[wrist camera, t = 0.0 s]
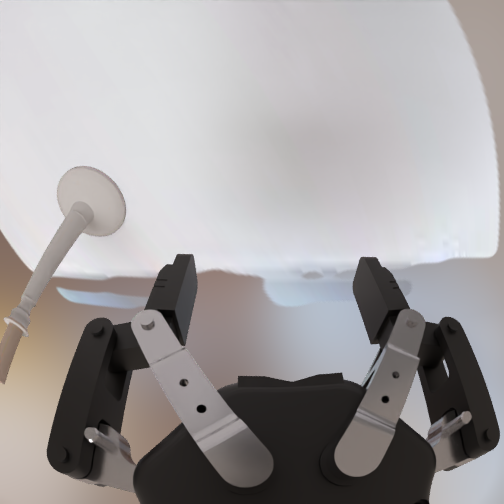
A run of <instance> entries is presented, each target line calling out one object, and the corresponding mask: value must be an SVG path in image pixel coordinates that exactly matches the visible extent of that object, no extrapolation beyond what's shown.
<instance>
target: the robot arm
mask: <svg viewBox="0 0 504 504" xmlns="http://www.w3.org/2000/svg"><path fill="white" fill-rule="evenodd" d="M196 293H197V275H196V268H195V261H194V256H193V254H177V255H176V258H175V260H174V263H173V265H171V264H167V265H165V266H164V267H163V268H162V269H161V270H160V272H159V274H158V276H157V279H156V281H155V284H154V287H153V289H152V292H151V294H150V296H149V299H148V302H147V304H146V307H145V309H144V311H141V312H139V313H138V314H136V315H135V316H134V318H133V319H132V322H129V323H124V324H118V325H113V324H112V323H111V321H110V320H109V319H107V318H97V319H94V320H92V321H90V322H89V323H88V324H87V326H86V327H85V329H84V331H83V334H82V336H81V339H80V341H79V344H78V347H77V349H76V352H75V355H74V357H73V360H72V363H71V365H70V368H69V371H68V374H67V378H66V380H65V383H64V386H63V389H62V393H61V396H60V399H59V403H58V406H57V410H56V414H55V417H54V421H53V425H52V429H51V433H50V438H49V442H48V447H47V458H48V460H49V462H50V464H51V466H52V467H53V468H54V469H55V470H57V471H58V472H60V473H63V474H65V475H68V476H70V477H71V478H73V479H76V480H79V481H82V482H85V483H88V484H94V485H97V486H102V487H104V486H110V487H114V488H117V489H122V490H125V491H129V492H134V493H136V495H137V497H138V499H139V502H140V504H429V495H430V489H431V484H432V480H433V477H434V474H435V473H436V472H438V471H441V470H444V471H450V470H453V469H454V468H457V467H459V466H461V465H464V464H466V463H468V462H470V461H472V460H474V459H476V458H478V457H480V456H482V455H484V454H486V453H487V452H489V451H491V450H492V449H494V448H495V447H496V446H497V444H498V442H499V438H500V431H499V426H498V422H497V419H496V415H495V412H494V408H493V405H492V401H491V398H490V395H489V392H488V389H487V387H486V383H485V381H484V378H483V375H482V372H481V370H480V367H479V365H478V362H477V360H476V357H475V355H474V353H473V350H472V348H471V345H470V343H469V341H468V339H467V337H466V334H465V332H464V330H463V328H462V326H461V324H460V323H459V322H458V321H457V320H455V319H454V318H451V317H444V318H443V319H442V320H441V321H440V323H439V324H435V323H430V322H425V320H424V318H423V316H422V315H421V314H420V313H418V312H417V311H415V310H412V309H410V307H409V306H408V303H407V301H406V299H405V297H404V295H403V293H402V292H401V290H400V289H399V286H398V284H397V283H396V280H395V278H394V277H393V275H392V273H391V272H390V271H389V270H387V269H386V268H385V267H382V266H381V265H380V263H379V261H378V259H377V258H376V257H361V258H360V260H359V264H358V267H357V271H356V274H355V277H354V281H353V293H354V296H355V299H356V301H357V304H358V307H359V310H360V313H361V316H362V319H363V322H364V325H365V328H366V331H367V334H368V337H369V340H370V343H371V344H380V349H379V351H378V353H377V355H376V357H375V359H374V361H373V363H372V365H371V367H370V369H369V371H368V373H367V375H366V377H365V379H364V381H363V382H362V384H361V385H359V384H357V383H354V382H351V381H348V380H343V375H342V373H334V374H333V373H332V374H319V375H315V376H312V377H308V378H305V379H301V380H298V381H294V382H290V381H284V380H279V379H274V378H270V377H265V376H238V383H235V384H231V385H228V386H225V387H223V388H221V389H219V390H217V391H216V389H215V388H214V387H213V385H212V384H211V383H210V381H209V380H208V378H207V377H206V376H205V375H204V373H203V372H202V370H201V369H200V367H199V366H198V364H197V363H196V362H195V360H194V359H193V357H192V356H191V354H190V353H189V352H188V350H187V349H186V348H183V347H182V346H185V344H186V339H187V334H188V329H189V325H190V320H191V316H192V310H193V307H194V302H195V298H196ZM444 359H445V361H446V364H447V367H448V370H449V378H448V376H447V373H446V370H445V367H444V364H443V360H444ZM149 367H151V369H152V371H153V373H154V375H155V377H156V378H157V380H158V382H159V384H160V386H161V388H162V389H163V391H164V393H165V395H166V396H167V398H168V400H169V401H170V403H171V404H172V406H173V408H174V409H175V411H176V413H177V414H178V416H179V418H180V419H181V421H182V423H181V424H180V425H179V426H178V427H176V428H175V430H173V431H172V432H171V433H170V434H169V435H168V436H167V437H166V438H164V439H163V440H162V441H161V442H160V443H159V444H158V445H156V446H155V447H154V448H153V449H152V450H151V451H150V452H148V453H147V454H146V455H145V456H144V457H143V458H142V459H141V460H140V461H139V462H138V464H137V465H136V464H135V463H134V462H133V460H132V458H131V453H130V445H129V443H128V441H127V440H126V439H125V438H124V437H123V436H122V435H121V434H120V433H121V427H122V421H123V415H124V410H125V405H126V400H127V395H128V389H129V385H130V380H131V375H132V371H133V370H137V369H143V368H149ZM416 371H418V374H419V378H420V381H421V385H422V388H423V392H424V396H425V400H426V404H427V408H428V413H429V417H430V422H431V427H430V429H429V431H428V437H427V438H426V440H425V439H424V438H423V437H421V436H420V435H419V434H418V433H417V432H416V431H414V430H413V429H412V428H411V427H410V426H409V425H407V424H406V423H405V422H404V421H403V420H401V419H400V418H399V416H400V414H401V411H402V409H403V407H404V404H405V402H406V399H407V396H408V394H409V391H410V388H411V386H412V382H413V380H414V377H415V374H416Z"/></svg>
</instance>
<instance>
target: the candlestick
mask: <svg viewBox="0 0 504 504" xmlns="http://www.w3.org/2000/svg"><path fill="white" fill-rule="evenodd" d="M57 200H58V204H59V207H60V209H61V211H62V213H63V215H64V216H65V219H64V221H63V223H62V224H61V226H60V227H59V229H58V230H57V232H56V234H55V235H54V237H53V239H52V240H51V242H50V244H49V245H48V247H47V249H46V251H45V252H44V254H43V256H42V258H41V260H40V261H39V263H38V265H37V267H36V269H35V271H34V273H33V275H32V277H31V279H30V281H29V283H28V285H27V287H26V289H25V291H24V293H23V295H22V296H21V297H22V300H21V303H20V304H19V305H18V306H17V308H14V309H12V312H11V315H10V316H9V317H5V318H4V321H5V322H6V323H7V324H8V327H7V329H6V331H5V334H4V336H3V338H2V341H1V343H0V382H1V383H2V384H5V381H6V378H7V374H8V371H9V368H10V365H11V362H12V359H13V357H14V354H15V351H16V349H17V346H18V343H19V341H20V338H21V336H25V337H28V336H29V335H28V332H27V327H28V325H29V324H30V319H29V316H30V311H31V309H32V308H33V307H35V306H36V302H37V301H38V299H39V297H40V295H41V294H42V292H43V290H44V288H45V287H46V285H47V283H48V282H49V280H50V279H51V277H52V275H53V274H54V272H55V271H56V269H57V267H58V266H59V264H60V263H61V261H62V260H63V258H64V257H65V255H66V254H67V252H68V251H69V249H70V248H71V247H72V245H73V244H74V242H75V241H76V239H77V238H78V237H79V235H80V234H81V233H82V232H83V233H86V234H88V235H92V236H107V235H110V234H112V233H114V232H116V231H117V230H118V229H119V228H120V226H121V225H122V223H123V221H124V218H125V213H126V207H125V201H124V198H123V196H122V193H121V191H120V190H119V188H118V186H117V185H116V184H115V183H114V181H113V180H112V179H111V178H110V177H108V176H107V175H106V174H105V173H103V172H101V171H99V170H97V169H95V168H92V167H87V166H79V167H75V168H72V169H70V170H69V171H67V172H66V173H65V174H64V175H63V176H62V178H61V179H60V181H59V184H58V187H57Z"/></svg>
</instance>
